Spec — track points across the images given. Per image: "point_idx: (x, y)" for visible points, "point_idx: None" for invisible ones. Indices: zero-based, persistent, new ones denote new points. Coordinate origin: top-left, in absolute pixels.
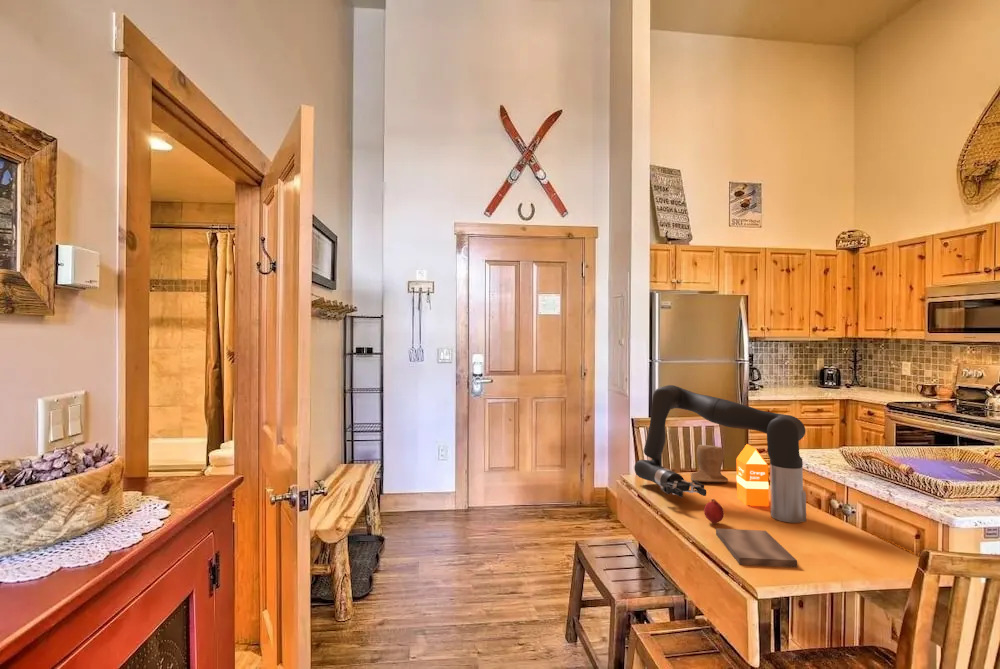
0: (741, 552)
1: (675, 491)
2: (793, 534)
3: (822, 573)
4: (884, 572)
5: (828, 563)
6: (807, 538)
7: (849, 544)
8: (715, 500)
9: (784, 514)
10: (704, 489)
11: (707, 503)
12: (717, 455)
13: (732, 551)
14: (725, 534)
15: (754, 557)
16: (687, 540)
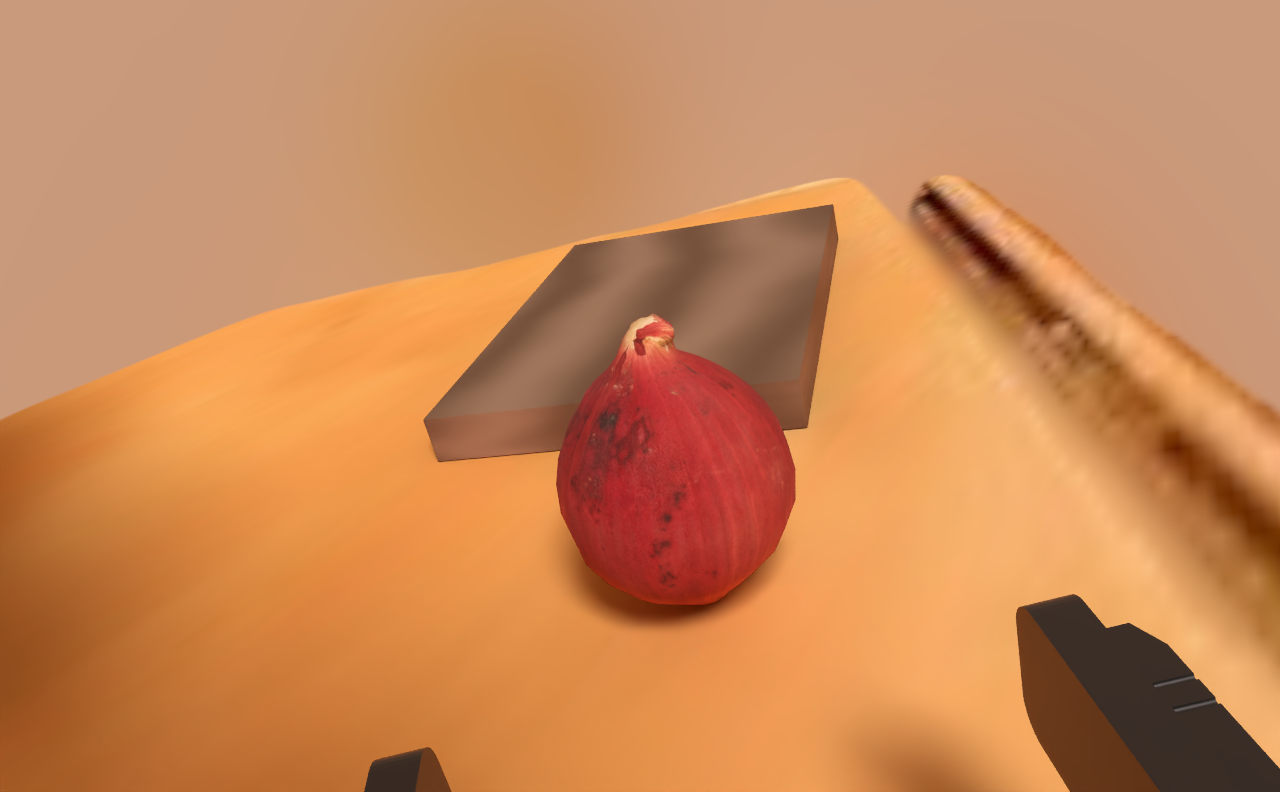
0: (794, 229)
1: (1237, 750)
2: (199, 521)
3: (520, 272)
4: (278, 321)
5: (411, 322)
6: (186, 488)
7: (61, 467)
8: (626, 337)
9: None
10: (390, 764)
11: (722, 392)
12: None
13: (828, 251)
14: (772, 331)
15: (755, 218)
16: (1087, 329)
